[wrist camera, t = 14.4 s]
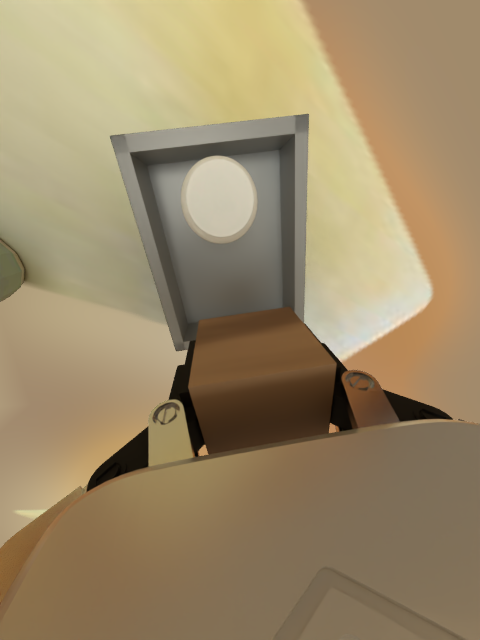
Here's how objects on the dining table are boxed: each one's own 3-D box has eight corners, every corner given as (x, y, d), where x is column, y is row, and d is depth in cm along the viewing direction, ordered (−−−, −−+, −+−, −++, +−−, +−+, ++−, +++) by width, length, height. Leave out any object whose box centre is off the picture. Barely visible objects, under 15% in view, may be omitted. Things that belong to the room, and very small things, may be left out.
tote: (182, 329, 27) (175, 351, 22) (134, 155, 19) (109, 135, 14) (289, 312, 27) (303, 331, 23) (287, 137, 19) (308, 113, 15)
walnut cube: (199, 320, 11) (188, 387, 7) (289, 306, 11) (336, 363, 7) (214, 388, 14) (214, 473, 9) (290, 376, 14) (326, 452, 9)
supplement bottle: (229, 162, 19) (242, 117, 11) (254, 220, 21) (281, 222, 13) (179, 193, 20) (152, 174, 11) (208, 246, 22) (205, 264, 13)
